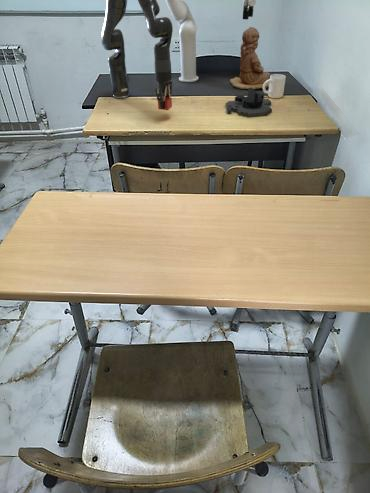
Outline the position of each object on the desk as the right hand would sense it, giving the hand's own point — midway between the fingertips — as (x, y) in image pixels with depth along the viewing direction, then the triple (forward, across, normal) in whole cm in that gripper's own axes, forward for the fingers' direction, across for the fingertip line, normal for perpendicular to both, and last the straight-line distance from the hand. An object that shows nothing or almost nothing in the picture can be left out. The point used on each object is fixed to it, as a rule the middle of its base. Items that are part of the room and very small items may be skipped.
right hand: (247, 17), depth 204 cm
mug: (+33, -28, -24) cm, 49 cm away
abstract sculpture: (+33, -51, -18) cm, 64 cm away
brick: (+28, -76, +18) cm, 83 cm away
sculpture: (+33, -8, -7) cm, 35 cm away
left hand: (+27, -76, +18) cm, 83 cm away
